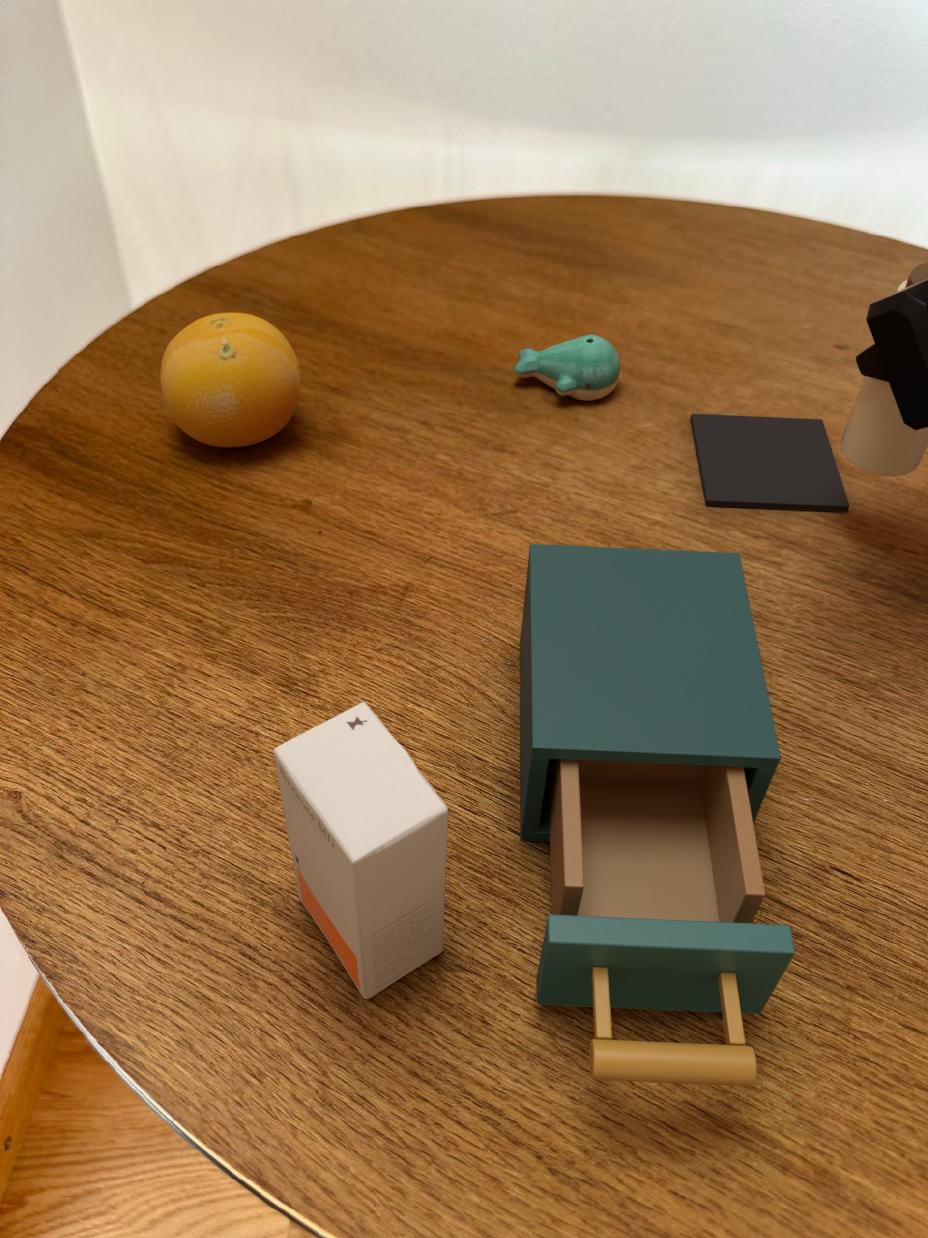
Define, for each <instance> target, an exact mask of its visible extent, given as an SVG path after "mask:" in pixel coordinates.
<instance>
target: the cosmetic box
mask: <svg viewBox="0 0 928 1238" xmlns="http://www.w3.org/2000/svg"><path fill="white" fill-rule="evenodd" d="M273 756H274V763H275V769H276V775H277V779H278V785H279V790H280V791H279V792H280V798H281V803H282V810H283V816H284V820H285V821H284V822H285V826H286V827H285V828H286V832H287V839H288V845H289V849H290V855H291V860H292V865H293V872H294V879H295V884H296V891H297V895H298V900H299V901H300V902H301V904H302V905H303V907H304V908H305V909H306V912H308V914H309V915H310V917H311V918H312V920H313V921H314V923H315V924H316V926H317V927H318V929H319V931H320V932H321V933H322V934H323V936H324V937H325V939H326V941H327V942H328V943H329V945H330V947H331V948H332V950H333V952H334V953H335V955H336V956H337V958H338V960H339V962H340V963H341V965H342V966H343V967H344V969H345V971H346V973H347V974H348V976H349V978H350V979H351V981H352V982H353V984H354V985H355V987H356V989H357V990H358V993H360V995H361V997H362V998H363V999H364V1000H370V999H371V998H373V997H375V996H376V995H378V994H379V993H380V992H381V991H383V990H385V989H386V988H387V987H389V986H391V985H392V984H394V983H395V982H397V981H398V980H400V979H402V978H403V977H405V976H406V975H408V974H409V973H411V972H413V971H414V970H415V969H417V968H419V967H421V966H422V965H424V964H426V963H427V962H429V961H430V960H432V959H433V958H435V957H436V956H438V955H439V954H441V953H442V952H443V951H444V941H445V940H444V939H445V937H444V936H445V908H446V907H445V906H446V905H445V904H446V882H447V881H446V880H447V879H446V877H447V876H446V875H447V851H448V844H447V843H448V828H449V827H448V824H449V808H448V806H447V804H446V803H445V802H444V800H443V798H441V797H440V795H439V793H437V791H436V789H434V787H433V786H432V785H431V784H430V782H429V781H428V780H427V778H426V777H425V776H424V775H423V774H422V772H421V771H420V770H419V768H418V766H417V765H416V764H415V762H414V759H412V757H411V756H410V754H409V753H408V752H407V750H406V749H405V748H404V747H403V746H402V744H401V743H399V742H398V741H397V739H396V738H395V737H394V736H393V735H392V733H391V732H390V730H388V729H387V727H386V726H385V725H384V724H383V722H382V721H381V720H380V719H379V717H378V715H376V713H375V712H374V711H373V710H372V709H371V708H370V706H369V705H368V703H367V702H364V701H360V703H357V704H356V705H354V706H353V707H350V708H348V709H347V710H345V711H343V712H341V713H339V714H338V715H336V716H333V717H332V718H329V719H328V720H326V721H324V722H322V723H320V724H318V725H316V726H313V727H311V728H310V729H308V730H306V731H304V732H303V733H300V734H298V735H297V736H295V737H293V738H291V739H289V740H287V741H285V742H284V743H282V744H280V745H278V746H277V747H275V748H274V749H273Z"/></svg>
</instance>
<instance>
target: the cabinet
mask: <svg viewBox="0 0 928 1238" xmlns="http://www.w3.org/2000/svg"><path fill="white" fill-rule="evenodd" d="M526 568H527V569H526V579H525V588H524V596H523V607H522V616H521V617H522V618H521V627H520V636H519V815H520V816H519V839H520V841H524V842H547V843H548V842H549V843H550V817H549V776H548V773H549V767H550V760H551V759H566V760H589V761H612V762H634V763H657V764H679V765H702V766H724V767H744V772H745V778H746V784H747V790H748V795H749V801H750V807H751V813H752V819H753V824H754V823H755V820H756V818H757V816H758V814H759V811H760V808H761V806H762V804H763V801H764V800H765V796H766V795H767V792H768V790H769V788H770V785H771V783H772V781H773V778H774V776H775V773H776V771H777V768H778V766H779V764H780V762H781V759H782V757H781V751H780V747H779V742H778V737H777V732H776V727H775V722H774V717H773V713H772V708H771V707H772V706H771V703H770V702H771V701H770V697H769V693H768V692H769V691H768V688H767V683H766V677H765V673H764V668H763V663H762V659H761V653H760V649H759V643H758V638H757V633H756V628H755V622H754V618H753V613H752V608H751V604H750V598H749V593H748V588H747V583H746V579H745V574H744V570H743V568H744V567H743V563H742V558H741V553H739V552H722V551H703V550H702V551H701V550H677V549H676V550H675V549H657V548H654V549H652V548H636V547H635V548H634V547H633V548H632V547H631V548H630V547H610V546H590V545H589V546H588V545H566V544H565V545H563V544H544V543H543V544H542V543H530V544H529V550H528V559H527V567H526Z"/></svg>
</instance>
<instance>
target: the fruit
mask: <svg viewBox="0 0 928 1238" xmlns="http://www.w3.org/2000/svg"><path fill="white" fill-rule="evenodd" d="M160 388H161V393H162V398H163V401H164V404H165V407H166V409H167V411H168V413H169V415H170V417H171V419H172V421H173V422H174V423H175V424H176V425H177V427H178V428H179V429H181V431H182V432H184V433H185V434H186V435H188V436H189V437H190V438H191V439H194V440H195V441H198V442H200V443H202V444H205V445H207V446H211V447H216V448H241V447H248V446H253V445H256V444H259V443H261V442H264V441H266V440H268V439H270V438H272V437H273V436H275V435H276V434H278V433H280V431H281V430H283V428H284V427H285V426H287V424H288V423H289V422H290V420H291V419H292V417H293V415H294V413H295V410H296V408H297V405H298V402H299V400H300V399H299V398H300V393H301V370H300V365H299V361H298V359H297V356H296V353H295V351H294V349H293V347H292V346H291V344H290V342H289V341H288V339H287V338H286V337H285V335H284V334H283V333H282V332H281V331H280V330H279V329H278V328H277V327H276V326H275V325H273V324H272V323H270V322H268V321H267V320H266V319H263V318H261V317H259V316H256V315H253V314H249V313H244V312H219V313H214V314H209V315H206V316H203V317H201V318H199V319H196V320H194V321H193V322H191V323H189V324H188V325H186V326H185V327H184V328H183V329H181V330H180V331H179V332H178V333H176V335H175V336H174V337H173V338H172V339H171V340H170V342H169V343H168V345H167V346H166V348H165V350H164V353H163V356H162V360H161V365H160Z"/></svg>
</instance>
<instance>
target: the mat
mask: <svg viewBox="0 0 928 1238" xmlns="http://www.w3.org/2000/svg"><path fill="white" fill-rule="evenodd" d="M689 420H690V425H691V431H692V436H693V440H694V447H695V453H696V459H697V464H698V469H699V470H698V471H699V476H700V481H701V487H702V492H703V498H704V504H705V506H706V507H727V508H728V507H730V508H748V509H749V508H751V509H770V510H772V509H774V510H775V509H776V510H795V511H796V510H797V511H798V510H799V511H816V512H817V511H818V512H839V513H847V512H849V509H850V503H849V499H848V497H847V494H846V491H845V488H844V487H845V486H844V484H843V480H842V478H841V475H840V472H839V469H838V466H837V465H838V464H837V462H836V459H835V455H834V452H833V449H832V445H831V443H830V440H829V437H828V436H829V435H828V433H827V430H826V427H825V424H824V420H823V419H821V418H801V417H800V418H799V417H777V416H776V417H775V416H757V415H756V416H755V415H733V414H732V415H730V414H710V413H691V415H690V419H689Z"/></svg>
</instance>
